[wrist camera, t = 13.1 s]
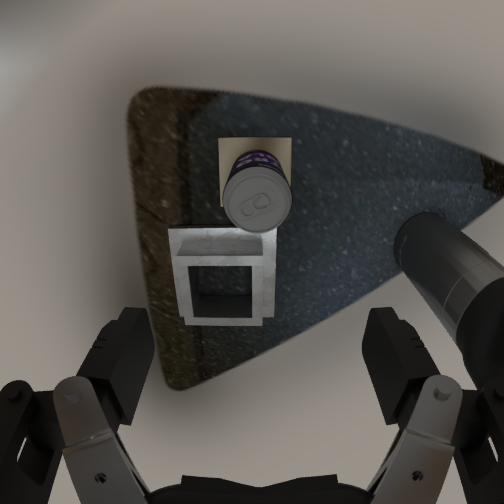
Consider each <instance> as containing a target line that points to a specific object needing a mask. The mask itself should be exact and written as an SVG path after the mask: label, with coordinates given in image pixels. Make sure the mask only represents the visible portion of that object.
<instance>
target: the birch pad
mask: <svg viewBox="0 0 504 504" xmlns="http://www.w3.org/2000/svg"><path fill="white" fill-rule="evenodd" d="M250 150H264V151H267V152H269V153H271V154H272V155H274V156H275V157H276V158H277V159H278V161H279V162H280V164H281V167H282V169H283V171H284V173H285V176H286V178H287V180H288V183H289V185H290V182H291V138H284V137H235V138H219V171H220V198H221V207H223V202H222V196H223V190H224V187H225V185H226V182H227V179H228V177H229V174H230V171H231V169H232V166H233V164H234V162H235V160H236V159H237V158H238V157H239V156H240V155H241V154H243V153H245V152H247V151H250Z"/></svg>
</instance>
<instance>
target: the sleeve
mask: <svg viewBox="0 0 504 504" xmlns="http://www.w3.org/2000/svg"><path fill="white" fill-rule="evenodd" d="M168 232H169V241H170V249H171V257H172V265H173V273H174V280H175V287H176V294H177V300H178V307H179V313H180V316H184V318H185V325H218V326H262V317H274V300H275V270H276V235H277V228H275V229H274V230H272V231H269V232H266V233H261V234H254V233H249V232H246V231H243V230H241V229H240V228H238V227H237V226H236V225H188V226H170V227H169V228H168ZM196 266H252V296H214V295H199V287H198V277H197V267H196Z"/></svg>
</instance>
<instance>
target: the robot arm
mask: <svg viewBox="0 0 504 504" xmlns="http://www.w3.org/2000/svg"><path fill="white" fill-rule="evenodd" d="M394 255H395V259H396V262H397V264H398V265H399V267H400V268H401V269H402V270H403V272H404V273H405V274H406V276H407V277H408V278H409V280H410V281H411V282H412V284H413V285H414V286H415V288H416V289H417V290H418V292H419V293H420V294H421V296H422V297H423V298H424V299H425V301H426V302H427V303H428V305H429V306H430V308H431V309H432V311H433V312H434V313H435V315H436V316H437V318H438V319H439V320H440V322H441V323H442V325H443V326H444V327H445V329H446V330H447V332H448V333H449V335H450V336H451V337H452V339H453V341H454V342H455V344H456V345H457V346H458V348H459V350H460V351H461V353H462V355H463V361H464V365H465V367H466V370H467V372H468V373H469V375H470V377H471V379H472V381H473V382H474V384H475V386H476V388H477V390H464V389H461V387H460V385H459V384H458V383H457V382H456V381H455V380H454V379H452V378H450V377H448V376H444V375H441V374H440V372H439V370H438V368H437V367H436V365H435V363H434V361H433V359H432V358H431V356H430V354H429V352H428V350H427V349H426V347H424V343H423V342H422V340H420V337H419V335H418V333H417V332H416V330H415V328H414V327H413V326H411V325H410V324H409V323H408V322H406V321H405V320H399V318H398V316H397V315H396V313H395V311H394V309H393V308H392V307H384V308H372V309H371V310H370V312H369V316H368V320H367V325H366V329H365V333H364V337H363V341H362V354H363V358H364V361H365V364H366V366H367V369H368V372H369V375H370V378H371V380H372V383H373V386H374V389H375V392H376V395H377V398H378V401H379V404H380V407H381V410H382V413H383V416H384V419H385V422H386V425H391V424H397V423H398V426H399V431H398V432H397V434H396V436H395V439H394V441H393V443H392V445H391V447H390V449H389V451H388V453H387V455H386V457H385V459H384V461H383V463H382V464H381V466H380V468H379V470H378V472H377V473H376V475H375V477H374V478H373V480H372V482H371V483H370V484H369V486H368V488H367V489H366V490H364V489H361V488H359V487H355V486H352V485H348V484H343V483H338V480H337V474H333V475H325V476H314V477H301V478H296V479H293V480H289V481H286V482H282V483H278V484H274V485H270V486H265V487H254V486H249V485H245V484H240V483H236V482H232V481H228V480H225V479H221V478H208V477H196V476H185V475H182V479H181V484H176V485H171V486H167V487H164V488H160V489H158V490H155V491H153V492H150V490H149V489H148V487H147V486H146V484H145V483H144V481H143V479H142V478H141V476H140V475H139V473H138V471H137V469H136V468H135V466H134V464H133V462H132V460H131V458H130V456H129V454H128V453H127V451H126V449H125V447H124V445H123V443H122V441H121V439H120V437H119V435H118V433H117V431H118V428H119V425H120V424H124V425H130V426H131V423H132V420H133V417H134V414H135V411H136V407H137V404H138V401H139V398H140V395H141V392H142V389H143V386H144V383H145V380H146V377H147V374H148V371H149V368H150V365H151V362H152V359H153V356H154V349H155V346H154V339H153V335H152V330H151V326H150V322H149V317H148V313H147V310H146V309H145V308H131V307H125V308H124V309H123V311H122V313H121V314H120V316H119V318H118V320H111V321H110V322H109V323H108V324H107V325H105V326H104V327H103V328H102V330H101V331H100V333H99V335H98V336H97V340H95V342H94V343H93V346H92V348H91V349H90V350H89V352H88V354H87V356H86V358H85V360H84V361H83V363H82V365H81V367H80V369H79V371H78V373H77V375H76V376H73V377H68V378H66V379H64V380H62V381H61V382H60V383H58V385H57V386H56V387H55V389H54V390H52V391H38V392H34V391H33V390H32V388H31V386H30V385H29V384H28V383H27V382H25V381H22V380H16V381H12V382H10V383H8V384H7V385H5V386H4V387H3V389H2V390H1V391H0V504H48V501H49V497H50V493H51V490H52V486H53V483H54V479H55V476H56V473H57V470H58V467H59V463H60V460H61V457H62V454H63V456H64V459H65V462H66V465H67V468H68V471H69V474H70V476H71V479H72V482H73V485H74V487H75V490H76V492H77V495H78V497H79V500H80V502H81V504H436V502H437V499H438V497H439V494H440V491H441V489H442V486H443V483H444V480H445V478H446V475H447V472H448V469H449V466H450V463H451V460H452V457H454V460H455V463H456V466H457V469H458V473H459V476H460V480H461V483H462V486H463V490H464V494H465V497H466V501H467V504H504V267H503V266H502V265H501V264H500V263H498V262H497V261H496V260H495V259H494V258H493V257H491V256H490V255H489V253H488V252H487V251H486V250H484V249H483V248H482V247H481V246H479V245H478V244H477V243H476V242H474V241H473V240H472V239H470V238H469V237H468V236H467V235H465V234H464V233H463V232H461V231H460V230H459V229H457V228H456V227H455V226H453V225H452V224H450V223H448V222H447V221H445V220H444V219H443V218H441V217H440V216H438V215H436V214H433V213H422V214H419V215H417V216H414V217H413V218H411V219H410V220H409V221H408V222H407V223H405V224H404V226H403V227H402V228H401V230H400V231H399V233H398V235H397V237H396V241H395V245H394ZM489 437H491V439H492V442H493V444H494V447H495V449H496V452H497V455H498V462H497V461H496V458H495V456H494V453H493V450H492V448H491V445H490V443H489V440H488V438H489ZM24 438H26V442H25V445H24V447H23V449H22V452H21V455H20V457H19V459H18V462H17V456H18V453H19V451H20V448H21V446H22V443H23V441H24Z"/></svg>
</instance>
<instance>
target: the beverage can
mask: <svg viewBox="0 0 504 504" xmlns="http://www.w3.org/2000/svg"><path fill="white" fill-rule="evenodd" d="M292 200H293V197H292V191H291V188H290V185H289V183H288V180H287V178H286V176H285V173H284V171H283V169H282V167H281V164H280V162H279V161H278V159H277V158H276V157H275V156H274V155H272V154H271V153H269V152H267V151H264V150H250V151H247V152H245V153H243V154H241V155H240V156H239V157H238V158H237V159H236V160H235V162H234V164H233V166H232V169H231V171H230V174H229V177H228V179H227V182H226V185H225V187H224V190H223V196H222V202H223V207H224V211H225V213H226V215H227V216H228V218H229V219H230V220H231V221H232V222H233V223H234V224H235V225H236V226H237V227H238V228H240V229H241V230H243V231H246V232H249V233H254V234H261V233H266V232H269V231H272V230H274V229H275V228H277V227H278V226H279V225H280V224H281V223H282V222H283V221H284V220H285V219H286V218H287V216H288V214H289V213H290V210H291V207H292Z"/></svg>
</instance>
